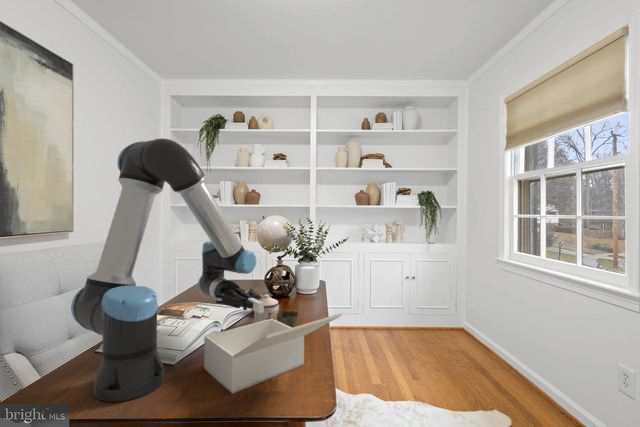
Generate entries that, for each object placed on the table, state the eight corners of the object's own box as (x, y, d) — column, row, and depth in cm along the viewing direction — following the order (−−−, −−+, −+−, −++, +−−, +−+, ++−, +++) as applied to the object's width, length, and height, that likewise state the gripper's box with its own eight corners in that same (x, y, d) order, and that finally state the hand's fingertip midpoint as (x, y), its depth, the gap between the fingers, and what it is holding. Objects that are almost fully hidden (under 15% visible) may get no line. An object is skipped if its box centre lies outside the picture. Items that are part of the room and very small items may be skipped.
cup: (284, 330, 120) (285, 308, 119) (301, 334, 116) (302, 311, 116) (271, 337, 113) (271, 313, 113) (289, 342, 109) (289, 317, 109)
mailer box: (232, 393, 79) (232, 356, 79) (204, 368, 91) (204, 336, 90) (303, 365, 94) (304, 333, 93) (271, 346, 105) (272, 318, 105)
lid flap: (233, 355, 78) (234, 358, 78) (266, 335, 68) (266, 338, 68) (305, 332, 93) (305, 334, 93) (341, 313, 83) (341, 315, 83)
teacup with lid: (267, 332, 117) (268, 299, 117) (248, 327, 122) (248, 295, 122) (287, 322, 128) (288, 292, 127) (269, 318, 132) (269, 289, 132)
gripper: (242, 298, 116) (280, 316, 98) (205, 305, 107) (240, 326, 89) (242, 277, 116) (280, 291, 98) (206, 282, 107) (240, 298, 89)
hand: (261, 307), depth 93 cm, fingers closed
